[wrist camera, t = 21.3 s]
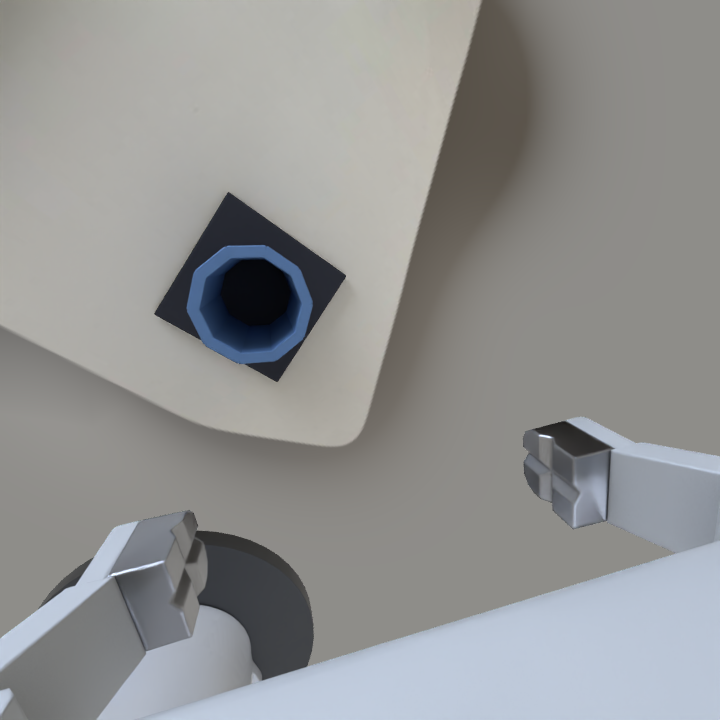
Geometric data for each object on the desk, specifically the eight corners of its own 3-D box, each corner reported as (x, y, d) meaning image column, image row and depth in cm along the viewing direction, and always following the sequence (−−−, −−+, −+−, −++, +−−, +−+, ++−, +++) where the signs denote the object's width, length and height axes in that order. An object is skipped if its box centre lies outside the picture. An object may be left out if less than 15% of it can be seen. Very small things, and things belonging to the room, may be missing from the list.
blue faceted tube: (271, 348, 29) (274, 384, 20) (195, 303, 27) (162, 322, 18) (313, 282, 28) (334, 291, 20) (239, 232, 26) (226, 217, 18)
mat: (277, 380, 30) (277, 382, 30) (155, 313, 27) (153, 314, 26) (345, 275, 29) (346, 275, 29) (228, 193, 26) (228, 191, 25)
